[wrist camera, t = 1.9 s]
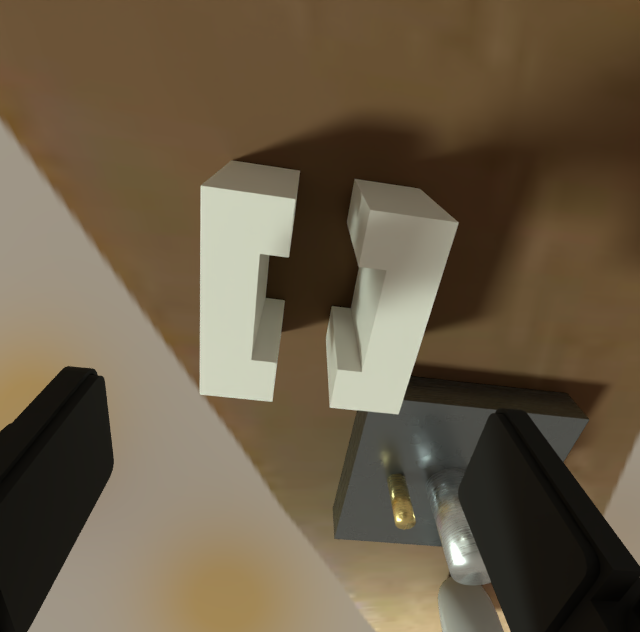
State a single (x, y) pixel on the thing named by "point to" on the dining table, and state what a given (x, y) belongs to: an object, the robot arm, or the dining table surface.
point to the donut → (466, 608)
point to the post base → (434, 464)
